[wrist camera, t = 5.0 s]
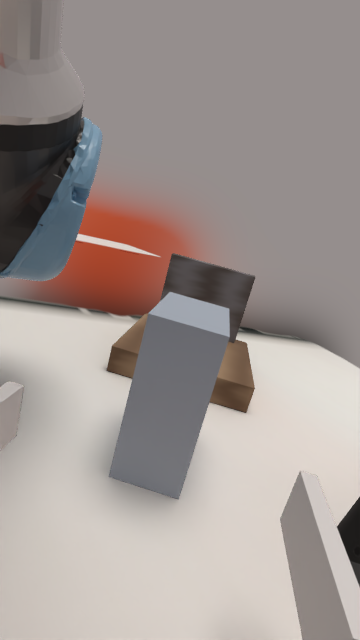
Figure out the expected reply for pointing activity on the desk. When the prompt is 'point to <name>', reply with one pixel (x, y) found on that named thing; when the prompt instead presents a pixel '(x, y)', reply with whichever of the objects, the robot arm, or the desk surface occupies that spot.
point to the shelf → (215, 289)
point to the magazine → (351, 532)
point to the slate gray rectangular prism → (170, 392)
